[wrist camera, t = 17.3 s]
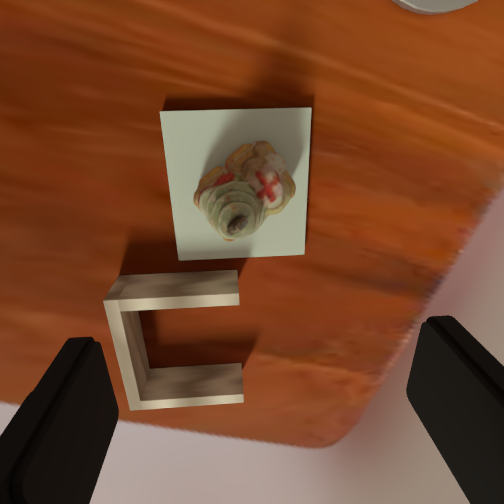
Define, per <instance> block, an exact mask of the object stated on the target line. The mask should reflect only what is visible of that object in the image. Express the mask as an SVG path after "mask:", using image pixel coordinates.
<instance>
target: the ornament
mask: <svg viewBox="0 0 504 504" xmlns="http://www.w3.org/2000/svg"><path fill="white" fill-rule="evenodd" d="M295 191H296V185H295V182H294V180H293V179H292V177H291V176H290V174H289V173H288V171H287V170H286V162H285V160H284V158H283V156H282V155H280V154H279V153H276V151H275V150H274V148H273V146H272V145H271V144H270V143H269V142H267V141H256V142H254V143H252V144H243V145H242V146H240V147H239V148H238V149H237V150H236V151H234V152H233V153H232V154H231V155H230V156H229V157H228V158H227V159H226V161H225V166H224V167H221V166H217V167H215V168H214V169H212V170H211V171H210V172H208V173H207V174H206V175H204V176H203V177H202V178H201V179H200V180H199V183H198V188H197V189H196V191H195V193H194V198H193V202H194V204H195V205H196V206H197V208H198V209H199V210H200V211H201V212H203V213H204V214H205V215H206V218H207V221H208V222H209V224H210V226H211V227H212V228H213V230H214V231H215V232H217V233H218V234H219V235H220V236H222V238H223V239H224V240H225V241H228V242H231V241H234V240H236V239H242V238H245V237H247V236H249V235H250V234H252V233H254V232H255V231H257V229H258V228H259V227H260V226H261V225H262V224H263V222H264V221H265V219H266V218H267V217H268V216H269V215H274V214H278V213H280V212H281V211H282V210H283V209H284V208H285V207H286V206H287V204H288V203H289V201H290V199H291V198H292V197H293V196H294V195H295Z"/></svg>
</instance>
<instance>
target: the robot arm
mask: <svg viewBox="0 0 504 504" xmlns="http://www.w3.org/2000/svg"><path fill="white" fill-rule="evenodd" d="M392 1H393V2H395V3H396V4H398V5H399V6H400V7H402V8H404V9H407V10H409V11H412V12H415V13H419V14H428V15H435V14H443V13H448V12H451V11H454V10H457V9H460V8H463V7H465V6H467V5H469V4H471V3H474V2H476V1H478V0H392ZM406 391H407V397H408V399H409V401H410V403H411V405H412V407H413V408H414V410H415V412H416V413H417V415H418V416H419V418H420V420H421V422H422V423H423V425H424V427H425V428H426V430H427V432H428V433H429V435H430V437H431V438H432V440H433V442H434V443H435V445H436V447H437V448H438V450H439V452H440V454H441V455H442V457H443V458H444V460H445V462H446V463H447V465H448V467H449V469H450V470H451V472H452V474H453V475H454V477H455V479H456V480H457V482H458V484H459V486H460V487H461V489H462V490H463V492H464V494H465V495H466V497H467V499H468V500H469V502H470V504H504V366H503V365H502V364H501V363H499V361H497V359H496V358H495V357H494V356H493V355H491V354H490V353H489V352H488V351H487V350H486V349H485V348H484V347H483V346H482V345H481V344H480V343H479V342H478V341H477V340H476V339H475V338H474V337H473V336H472V335H471V334H470V333H469V332H468V331H467V330H466V329H465V328H464V327H463V326H462V325H461V324H460V323H459V322H458V321H457V320H456V319H455V318H453V317H452V316H432V317H429V318H428V319H427V321H426V322H424V323H422V325H421V329H420V333H419V337H418V342H417V346H416V350H415V354H414V358H413V362H412V367H411V371H410V375H409V379H408V384H407V389H406ZM118 414H119V410H118V405H117V401H116V398H115V394H114V391H113V387H112V383H111V380H110V376H109V372H108V369H107V365H106V361H105V358H104V354H103V350H102V347H101V344H100V342H95V341H94V339H93V338H92V337H77V338H69V339H68V340H67V341H66V342H65V344H64V345H63V347H62V348H61V350H60V351H59V353H58V354H57V356H56V357H55V359H54V360H53V362H52V363H51V365H50V366H49V368H48V369H47V371H46V372H45V374H44V375H43V377H42V378H41V380H40V381H39V383H38V384H37V386H36V387H35V389H34V391H32V392H31V393H30V394H29V395H28V396H27V397H26V399H25V400H24V402H23V403H22V405H21V406H20V408H19V409H18V411H17V412H16V414H15V415H14V417H13V418H12V420H11V421H10V423H9V424H8V426H7V427H6V429H5V430H4V432H3V433H2V434H1V436H0V504H89V503H90V500H91V497H92V494H93V491H94V488H95V485H96V483H97V480H98V477H99V474H100V471H101V468H102V465H103V462H104V459H105V456H106V453H107V450H108V447H109V445H110V442H111V439H112V436H113V433H114V430H115V427H116V424H117V421H118Z"/></svg>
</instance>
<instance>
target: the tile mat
mask: <svg viewBox="0 0 504 504" xmlns="http://www.w3.org/2000/svg"><path fill="white" fill-rule="evenodd" d="M160 117H161V125H162V133H163V141H164V149H165V157H166V165H167V172H168V180H169V188H170V196H171V204H172V212H173V220H174V227H175V235H176V243H177V251H178V259H179V261H181V260H202V259H222V258H243V257H264V256H284V255H304V250H305V230H306V209H307V189H308V169H309V149H310V129H311V108H310V107H302V108H262V109H222V110H183V111H160ZM256 141H267V142H269V143H270V144H271V145H272V146H273V148H274V150H275V151H276V153H279V154H280V155H282V156H283V158H284V160H285V162H286V170H287V171H288V173H289V174H290V176H291V177H292V179H293V180H294V182H295V185H296V191H295V195H294V196H293V197H292V198H291V199H290V201H289V203H288V204H287V206H286V207H285V208H284V209H283V210H282V211H281V212H280V213H278V214H274V215H269V216H268V217H267V218H266V219H265V221H264V222H263V224H262V225H261V226H260V227H259V228H258V229H257V231H255V232H254V233H252V234H250V235H249V236H247V237H245V238H242V239H236V240H234V241H231V242H228V241H225V240H224V239H223V238H222V236H220V235H219V234H218V233H217V232H215V231H214V230H213V228H212V227H211V226H210V224H209V222H208V221H207V218H206V215H205V214H204V213H203V212H201V211H200V210H199V209H198V208H197V206H196V205H195V204H194V202H193V198H194V193H195V191H196V189H197V188H198V183H199V180H200V179H201V178H202V177H203V176H204V175H206V174H207V173H208V172H210V171H211V170H212V169H214V168H215V167H217V166H221V167H224V166H225V161H226V159H227V158H228V157H229V156H230V155H231V154H232V153H233V152H234V151H236V150H237V149H238V148H239V147H240V146H242V145H243V144H252V143H254V142H256Z"/></svg>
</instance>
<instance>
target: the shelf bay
mask: <svg viewBox="0 0 504 504" xmlns="http://www.w3.org/2000/svg"><path fill="white" fill-rule="evenodd" d="M103 302H104V306H105V310H106V314H107V318H108V322H109V326H110V330H111V334H112V338H113V342H114V346H115V350H116V354H117V358H118V362H119V366H120V370H121V374H122V378H123V383H124V387H125V391H126V395H127V399H128V403H129V407H130V410H144V409H158V408H172V407H186V406H200V405H214V404H228V403H242V402H244V400H243V381H242V363H231V364H215V365H200V366H185V367H169V368H154V369H150V368H149V363H148V358H147V353H146V348H145V343H144V338H143V333H142V328H141V323H140V318H139V312H138V310H156V309H174V308H192V307H210V306H227V305H239V289H238V272H237V270H220V271H200V272H180V273H160V274H140V275H120V276H118V278H117V279H116V281H115V282H114V284H113V286H112V287H111V289H110V291H109V292H108V294H107V295H106V297H105V299H104V300H103Z"/></svg>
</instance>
